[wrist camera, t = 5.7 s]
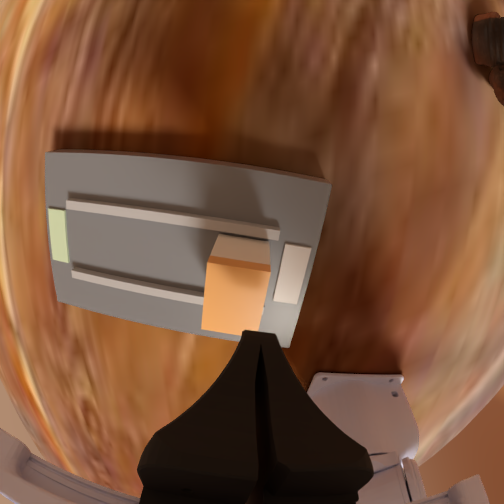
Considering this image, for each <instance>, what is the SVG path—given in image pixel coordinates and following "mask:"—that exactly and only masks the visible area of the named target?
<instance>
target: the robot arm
mask: <svg viewBox="0 0 504 504" xmlns="http://www.w3.org/2000/svg"><path fill="white" fill-rule="evenodd" d="M324 377H326V378H324ZM403 380H404V377H403V375H370V374H340V373H323V372H319V373H317V374H315V375H314V377H313V380H312V382H311V384H310V387H309V389H308V391H307V392H306V391H305V390H304V388H303V387H302V385H301V384H300V382H299V380H298V379H297V377H296V375H295V374H294V372H293V370H292V368H291V366H290V365H289V363H288V361H287V359H286V357H285V355H284V352H283V350H282V348H281V346H280V343H279V340H278V338H277V335H276V334H275V333H267V332H259V331H251V330H244V331H242V336H241V339H240V342H239V344H238V346H237V348H236V350H235V352H234V354H233V356H232V357H231V359H230V361H229V363H228V364H227V366H226V367H225V368H224V370H223V371H222V373H221V374H220V376H219V377H218V378H217V380H216V381H215V382H214V383H213V384H212V386H211V387H210V388H209V389H208V390H207V391H206V392H205V393H204V394H203V395H202V396H201V397H200V399H199V400H198V401H196V402H195V403H194V404H193V405H192V406H191V407H190V408H189V409H187V410H186V411H185V412H184V413H182V414H181V415H180V416H179V417H178V418H176V419H175V420H173V421H172V422H170V423H169V424H167V425H166V426H164V427H163V428H161V429H160V430H158V431H157V432H156V433H155V434H154V435H153V437H152V438H151V439H150V441H149V442H148V444H147V446H146V447H145V449H144V451H143V453H142V455H141V458H140V461H139V464H138V468H137V472H138V475H139V477H140V479H141V481H142V484H143V486H144V487H143V490H142V494H141V498H137V497H134V496H130V495H127V494H124V493H121V492H118V491H115V490H112V489H109V488H106V487H104V486H101V485H98V484H96V483H93V482H91V481H88V480H86V479H83V478H81V477H79V476H76V475H74V474H72V473H70V472H67V471H65V470H63V469H61V468H59V467H57V466H55V465H53V464H51V463H49V462H47V461H45V460H43V459H41V458H39V457H38V456H36V455H34V454H32V453H31V452H30V450H29V449H28V447H27V446H26V445H25V444H24V443H22V442H21V441H20V440H18V439H17V438H15V437H13V436H12V435H10V434H9V433H7V432H6V431H4V430H3V429H1V428H0V493H1V494H2V495H3V496H5V497H6V498H7V499H9V500H10V501H12V502H13V503H15V504H490V503H489V500H488V497H487V495H486V492H485V489H484V486H483V484H482V481H481V478H480V476H479V475H478V474H477V475H475V476H472V477H470V478H467V479H465V480H462V481H460V482H458V483H457V484H455V485H453V486H452V487H451V488H450V489H449V490H448V491H445V492H442V493H439V494H436V495H433V496H430V497H427V496H426V493H425V489H424V485H423V482H422V478H421V475H420V472H419V469H418V466H417V463H416V461H415V460H413V458H414V457H415V455H416V453H417V450H418V446H419V430H418V426H417V423H416V420H415V418H414V415H413V413H412V410H411V408H410V405H409V403H408V401H407V398H406V396H405V393H404V391H403V389H402V386H401V383H402V381H403ZM403 468H404V472H403ZM404 474H405V475H404ZM405 478H406V479H405Z"/></svg>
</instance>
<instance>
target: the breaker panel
mask: <svg viewBox="0 0 504 504" xmlns="http://www.w3.org/2000/svg"><path fill="white" fill-rule="evenodd" d="M331 188H332V184H331V183H330V182H328V181H327V180H326V179H323V178H318V177H313V176H308V175H303V174H298V173H293V172H287V171H282V170H276V169H270V168H264V167H258V166H252V165H246V164H239V163H232V162H225V161H218V160H210V159H202V158H193V157H184V156H175V155H165V154H153V153H141V152H126V151H109V150H82V149H60V150H55V151H50V152H45V198H46V217H47V230H48V240H49V249H50V257H51V264H52V271H53V277H54V283H55V289H56V294H57V299H58V301H59V302H63V303H66V304H69V305H73V306H76V307H80V308H83V309H87V310H91V311H94V312H98V313H102V314H106V315H109V316H113V317H117V318H121V319H126V320H130V321H134V322H138V323H143V324H147V325H152V326H156V327H161V328H166V329H171V330H176V331H181V332H186V333H191V334H197V335H202V336H208V337H214V338H220V339H226V340H232V341H239V342H240V339H241V336H240V335H234V334H227V333H221V332H215V331H209V330H203V329H201V325H202V313H203V301H204V290H205V280H206V270H207V262H208V259H209V257H210V254H211V252H212V249H213V247H214V244H215V242H216V240H217V237H218V235H219V234H224V235H231V236H237V237H243V238H250V239H256V240H262V241H268V242H269V246H270V266H271V274H270V279H269V283H268V288H267V293H266V298H265V302H264V307H263V312H262V316H261V321H260V325H259V330H258V331H259V332H267V333H275V334H276V335H277V338H278V340H279V343H280V346H281V347H284V348H289V346H290V343H291V340H292V337H293V333H294V330H295V327H296V323H297V320H298V317H299V313H300V310H301V306H302V303H303V299H304V296H305V292H306V289H307V285H308V281H309V278H310V274H311V270H312V266H313V263H314V259H315V255H316V251H317V247H318V243H319V239H320V235H321V231H322V227H323V223H324V219H325V214H326V210H327V206H328V201H329V197H330V192H331Z"/></svg>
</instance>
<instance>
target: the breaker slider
mask: <svg viewBox="0 0 504 504" xmlns="http://www.w3.org/2000/svg"><path fill="white" fill-rule="evenodd" d="M270 274H271V266H270V246H269V242H268V241H262V240H256V239H250V238H243V237H237V236H231V235H224V234H219V235H218V237H217V240H216V242H215V244H214V247H213V249H212V252H211V254H210V257H209V259H208V262H207V270H206V280H205V290H204V301H203V313H202V325H201V329H203V330H209V331H215V332H221V333H227V334H234V335H240V336H242V331H244V330H251V331H258V330H259V325H260V321H261V316H262V312H263V307H264V302H265V298H266V293H267V288H268V283H269V279H270Z"/></svg>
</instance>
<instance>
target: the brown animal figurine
mask: <svg viewBox="0 0 504 504" xmlns="http://www.w3.org/2000/svg"><path fill="white" fill-rule="evenodd" d="M472 47H473V53H474V58H475V62H476V64H479V65H486V66H489V67H493V69H492V71H491V72H490V75H489V82H490V84H491V86H492V88H493V89H494V92H495V95H496V97H497V99H498V101H499V102H500V103H501V104H502V105H503V106H504V17H501V18H500V15H499V14H498V13H497V12H490V13H485V14H478V15H476V17H475V18H474V23H473V29H472Z"/></svg>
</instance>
